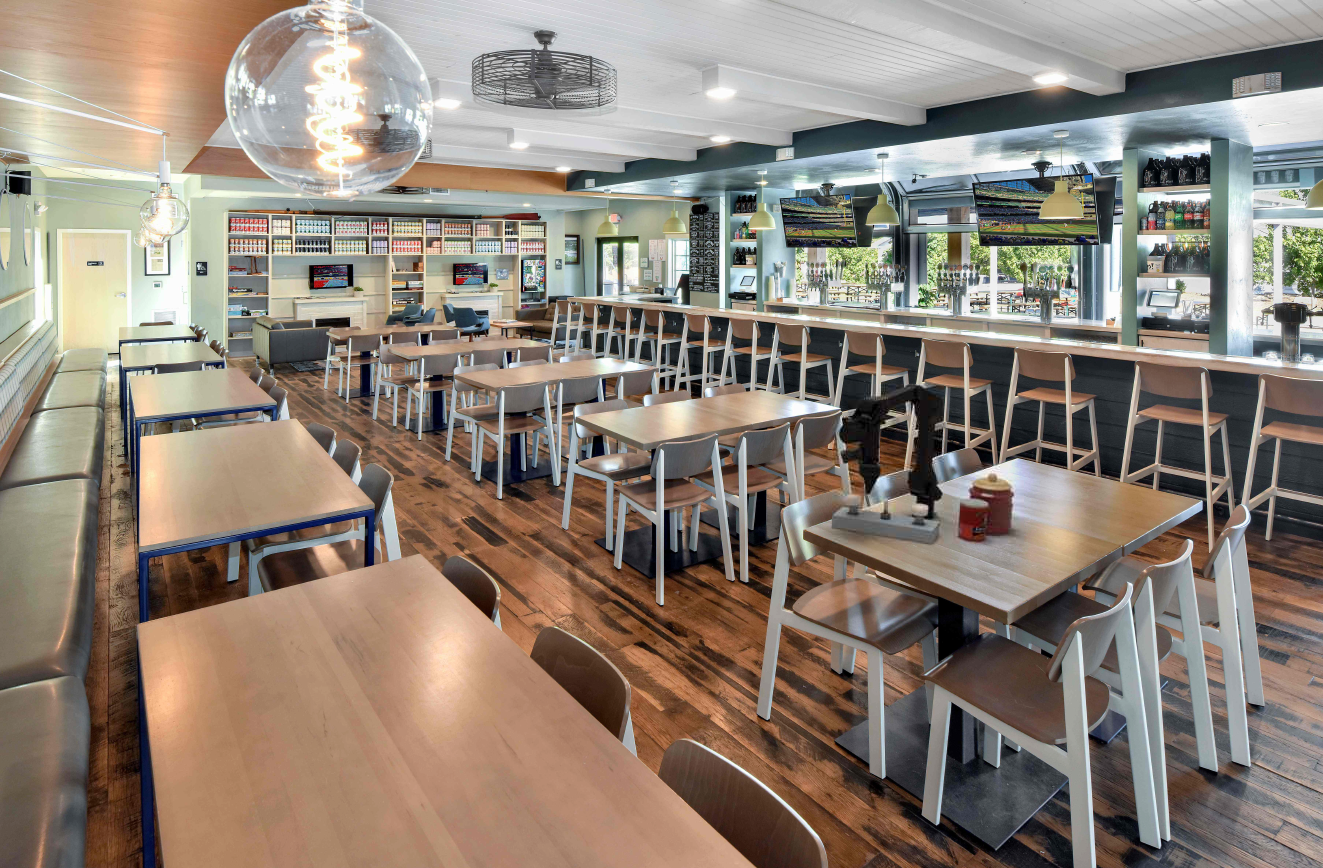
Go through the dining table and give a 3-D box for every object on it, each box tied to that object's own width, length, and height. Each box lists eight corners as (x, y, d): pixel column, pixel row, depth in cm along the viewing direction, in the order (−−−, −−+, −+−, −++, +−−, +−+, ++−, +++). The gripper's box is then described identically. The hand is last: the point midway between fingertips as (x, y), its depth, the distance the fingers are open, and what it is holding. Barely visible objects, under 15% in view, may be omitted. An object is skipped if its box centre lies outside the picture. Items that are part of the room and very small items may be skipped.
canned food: (976, 543, 229) (979, 507, 227) (952, 536, 235) (954, 501, 233) (991, 538, 233) (994, 502, 231) (966, 531, 240) (969, 496, 238)
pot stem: (881, 516, 242) (882, 499, 241) (891, 517, 240) (892, 500, 239) (879, 518, 239) (880, 501, 238) (888, 520, 238) (890, 502, 236)
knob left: (848, 509, 248) (849, 493, 247) (862, 511, 245) (863, 495, 244) (843, 513, 244) (844, 497, 243) (858, 515, 241) (859, 499, 240)
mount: (842, 518, 252) (842, 506, 251) (938, 534, 237) (939, 521, 236) (831, 527, 244) (832, 515, 243) (931, 543, 229) (932, 530, 228)
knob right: (912, 519, 238) (914, 502, 237) (928, 521, 235) (929, 505, 234) (909, 523, 234) (910, 506, 233) (925, 525, 231) (926, 508, 230)
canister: (1015, 537, 235) (1020, 480, 231) (969, 534, 237) (974, 477, 234) (1005, 523, 247) (1010, 469, 244) (962, 521, 250) (966, 467, 246)
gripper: (842, 432, 247) (840, 480, 250) (842, 445, 229) (840, 496, 232) (879, 434, 244) (876, 482, 247) (882, 447, 226) (879, 499, 229)
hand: (867, 490), depth 239 cm, fingers open, 9 cm apart
